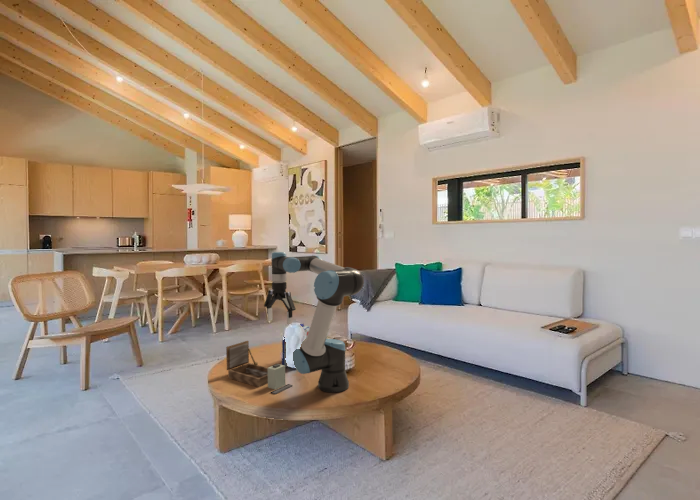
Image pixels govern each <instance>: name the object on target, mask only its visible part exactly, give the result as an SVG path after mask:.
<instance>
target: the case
mask: <svg viewBox="0 0 700 500" xmlns="http://www.w3.org/2000/svg"><path fill="white" fill-rule="evenodd" d="M225 349H226V371H228V379H230V380H234V381H237V382H240V383H244V384H247V385H250V386H253V387H256V388H261V387H263V386H265V385H268V367H266V366H262V365H258V362H257V361H255V358H254V356H253V354H252V351H251V349H250V348H249V340H245V341H242V342H241V341H240V342H238V343H236V344H230V345H228V346H226V347H225ZM249 355H250V356H249ZM249 357H250V359H252V362H253V363H250V359H249Z"/></svg>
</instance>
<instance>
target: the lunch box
mask: <svg viewBox="0 0 700 500" xmlns="http://www.w3.org/2000/svg"><path fill="white" fill-rule="evenodd" d="M299 324H300V325H301V326H302V327H303V329H304V332H305V335H306V339H307V336H308V332H309V329H310V326H309V325H305V324H304V323H299ZM283 337H284V335H283V336H282V338H283ZM284 338H285V337H284ZM306 339H305V340H306ZM281 345H282V346H281V347H282V349H281V350H282V351H281V352H282V353H281V365H284V366H285V368H288V366H287V363H286V360H285V358H286V342H285V339H284V340H283V339H282V341H281ZM288 369H289V368H288Z"/></svg>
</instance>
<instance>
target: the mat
mask: <svg viewBox="0 0 700 500" xmlns="http://www.w3.org/2000/svg"><path fill="white" fill-rule="evenodd" d="M290 388H293V384H290V383H288V384H285V385H284V387H283V386H282V388H281V387H280V388H278V389H276V390H275V389H273V390H272V391H270V392H269V393H270V394H273V395H277V394H279V393H281V392H283V391H285V390H287V389H290Z"/></svg>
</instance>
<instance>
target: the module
mask: <svg viewBox="0 0 700 500" xmlns="http://www.w3.org/2000/svg"><path fill="white" fill-rule="evenodd" d="M267 368H268V384H267V388H269V389H272V390H277V389H279V388H282V387H284V386H285V385H286V367H285V366H284V365H282V364H280V363H275V364H273V365H271V366H269V367H267Z"/></svg>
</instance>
